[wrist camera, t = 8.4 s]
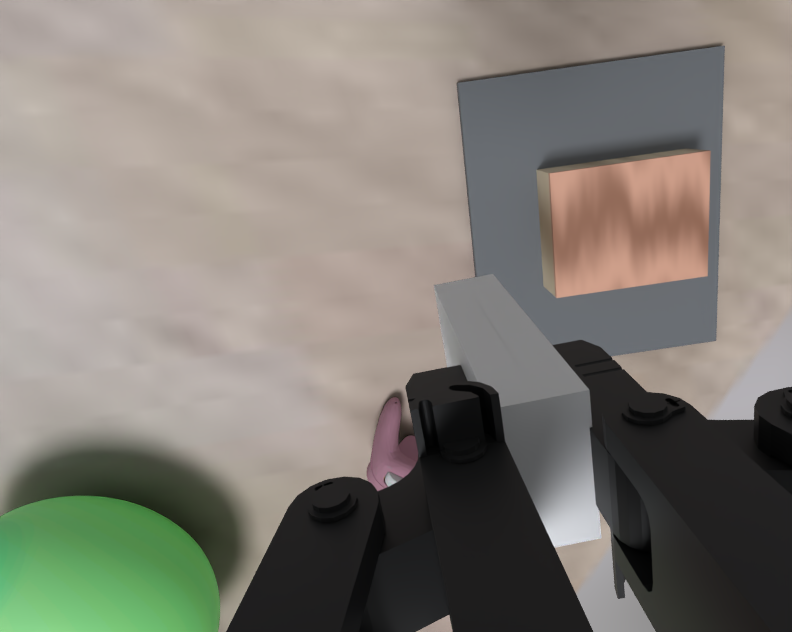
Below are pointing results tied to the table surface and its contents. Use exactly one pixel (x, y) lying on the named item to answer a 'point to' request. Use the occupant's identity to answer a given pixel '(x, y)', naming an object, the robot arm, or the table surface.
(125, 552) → the toy bird
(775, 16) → the table surface
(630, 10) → the table surface
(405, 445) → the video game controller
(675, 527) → the robot arm
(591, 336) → the rubber mat
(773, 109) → the table surface
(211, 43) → the table surface
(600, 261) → the oak tile
